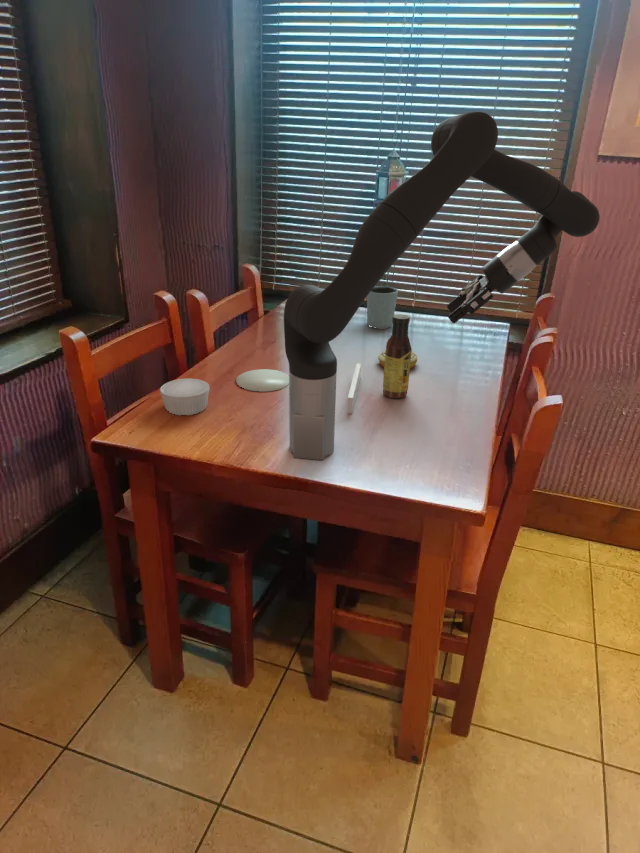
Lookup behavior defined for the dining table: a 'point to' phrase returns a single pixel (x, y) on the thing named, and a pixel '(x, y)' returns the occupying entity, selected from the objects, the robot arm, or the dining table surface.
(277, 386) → the sage pad
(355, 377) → the frosted wall
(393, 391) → the sauce bottle
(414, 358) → the decorated donut
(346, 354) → the dining table surface
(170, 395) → the ramekin
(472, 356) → the dining table surface
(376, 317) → the grey tapered cup
